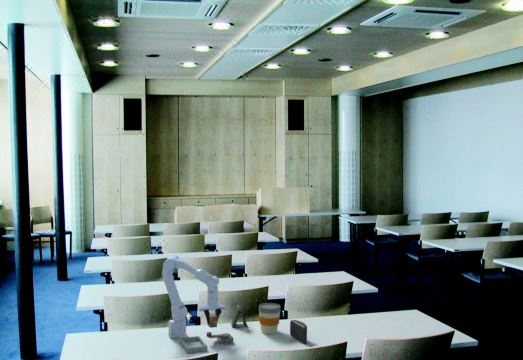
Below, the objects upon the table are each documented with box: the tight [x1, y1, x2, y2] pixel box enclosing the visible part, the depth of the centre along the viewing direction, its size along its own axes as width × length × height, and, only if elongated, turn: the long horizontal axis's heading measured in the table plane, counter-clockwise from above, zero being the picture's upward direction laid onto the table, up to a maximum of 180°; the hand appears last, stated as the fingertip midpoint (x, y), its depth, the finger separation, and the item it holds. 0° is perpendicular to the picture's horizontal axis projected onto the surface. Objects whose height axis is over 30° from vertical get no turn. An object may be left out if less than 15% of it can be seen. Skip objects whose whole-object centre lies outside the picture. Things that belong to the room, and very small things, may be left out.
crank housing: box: [216, 333, 234, 346], centre depth 325 cm, size 7×14×3 cm, turn 20°
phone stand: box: [230, 304, 249, 329], centre depth 349 cm, size 9×6×12 cm, turn 99°
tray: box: [179, 335, 208, 354], centre depth 313 cm, size 11×17×2 cm, turn 20°
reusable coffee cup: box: [258, 302, 282, 335], centre depth 339 cm, size 13×13×15 cm
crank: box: [206, 331, 230, 339], centre depth 320 cm, size 12×4×3 cm, turn 110°
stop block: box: [207, 313, 218, 329], centre depth 326 cm, size 4×5×6 cm
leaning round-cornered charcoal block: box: [289, 319, 308, 345], centre depth 327 cm, size 16×5×9 cm, turn 26°
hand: (212, 322), depth 327 cm, fingers closed on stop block, 4 cm apart
